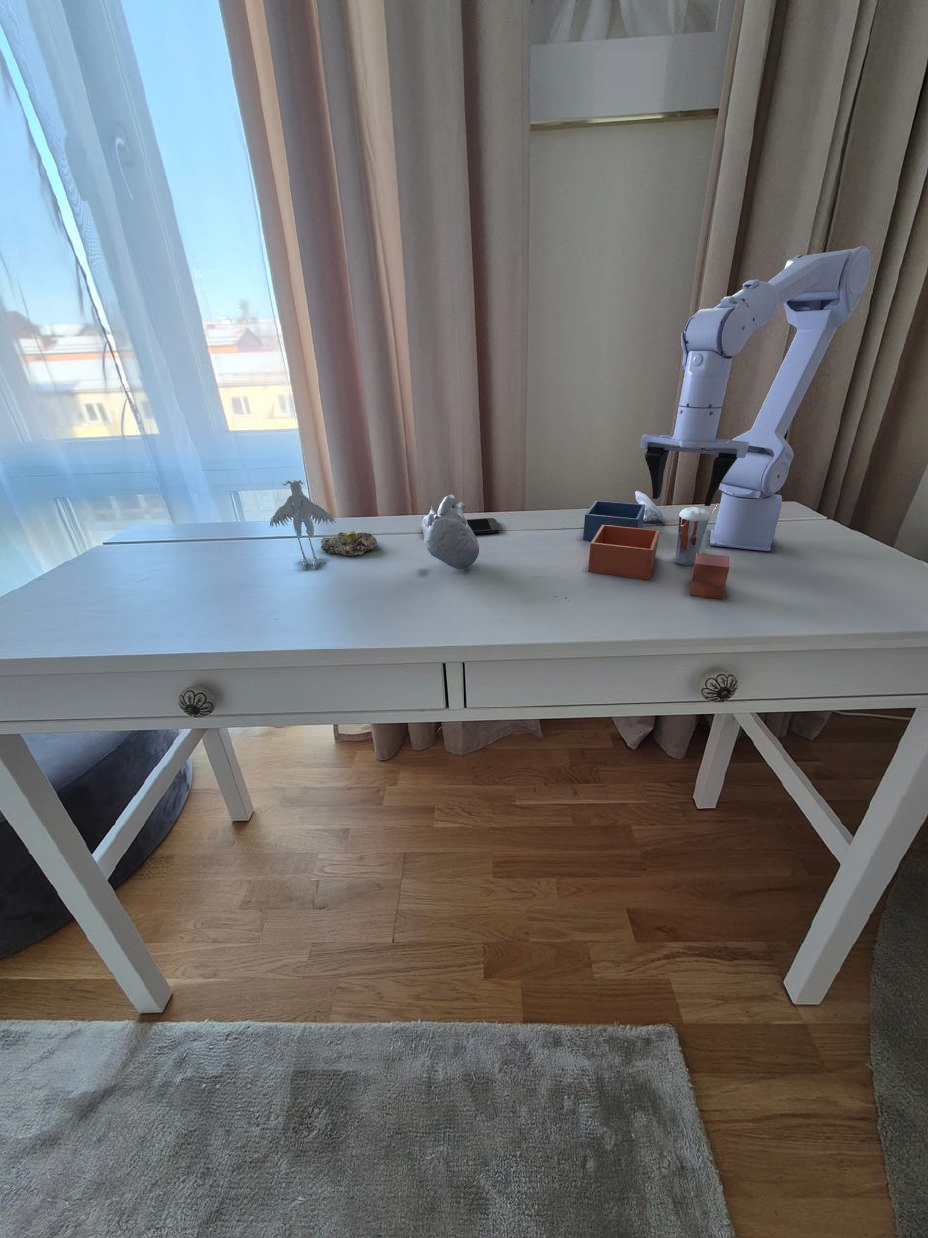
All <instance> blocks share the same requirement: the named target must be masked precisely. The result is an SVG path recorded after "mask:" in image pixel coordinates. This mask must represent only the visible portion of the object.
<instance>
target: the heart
mask: <svg viewBox="0 0 928 1238" xmlns="http://www.w3.org/2000/svg"><path fill="white" fill-rule="evenodd" d="M465 508H466V505H465V504H464V502H463V501H459V502H457V500H456V497H455V495H454V494H453V493H451V494H448V495H447V496H444V498H443V500H442V501H441V502H440V504H439V506H438V507H435V506H432V505H431V506H430V511H429V513H428V514H427V515H425V516H424V517H423V519H422V522H421V530H422V534H423V542H424V545H425V548H426V550H427V551H428V553H429V554H430V555H431V556H432V557H434V558H435V559H437V560H439V561H441V562H443V563H445V564H446V565H448V566H449V567H450V568H452V569H456V570H467V569H469V568H470V567H471V566H472V565H473V564H474V563H475V562H476V561H477V559H478V558H479V554H480V544H479V541H478V539H477V536H476V534H474V533H473V531H472V529H471V528H470V526H469V525H468V522H467V518H465V516H464V510H465Z"/></svg>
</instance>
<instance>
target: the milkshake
mask: <svg viewBox="0 0 928 1238" xmlns="http://www.w3.org/2000/svg"><path fill="white" fill-rule="evenodd" d="M718 505H719V503H716V505H715V506H714V507H713V508H712V510H711V512H709V511H707V510H706V509H705V508H700V507H697V506H692V507H685V508H683V509H682V510H680V512H679V515H678V526H677V527H678V528H677V529H678V530H677V541H676V551H675V562H676V563H677V564H679V565H682V566H694V564H695V559H696V554H697V553H700V550H701V546H702V544H703V540H704V536H705V534H706V531H707V528H708V525H709V523H710V519H711V515H713V514H712V513H713V512H714V511H715V510H716V508H717V506H718Z"/></svg>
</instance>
